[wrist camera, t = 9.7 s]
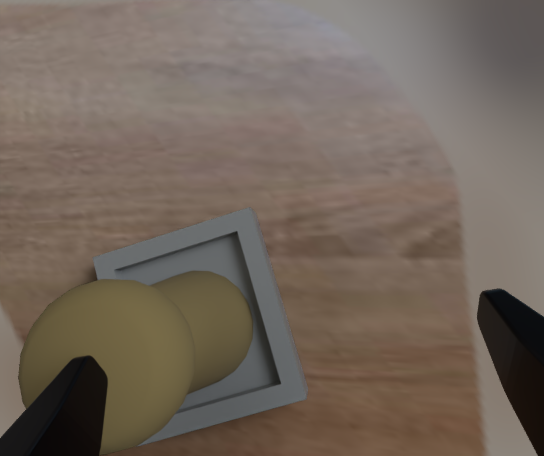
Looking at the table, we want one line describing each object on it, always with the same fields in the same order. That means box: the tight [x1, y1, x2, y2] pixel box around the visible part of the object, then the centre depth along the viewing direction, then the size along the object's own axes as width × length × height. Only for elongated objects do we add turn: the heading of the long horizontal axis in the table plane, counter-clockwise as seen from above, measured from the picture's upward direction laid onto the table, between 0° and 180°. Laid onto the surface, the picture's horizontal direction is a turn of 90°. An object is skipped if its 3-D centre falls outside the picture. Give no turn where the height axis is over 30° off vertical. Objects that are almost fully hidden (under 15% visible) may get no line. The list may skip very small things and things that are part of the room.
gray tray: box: [93, 207, 308, 447], centre depth 22 cm, size 10×9×2 cm
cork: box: [18, 271, 253, 455], centre depth 17 cm, size 6×6×11 cm
